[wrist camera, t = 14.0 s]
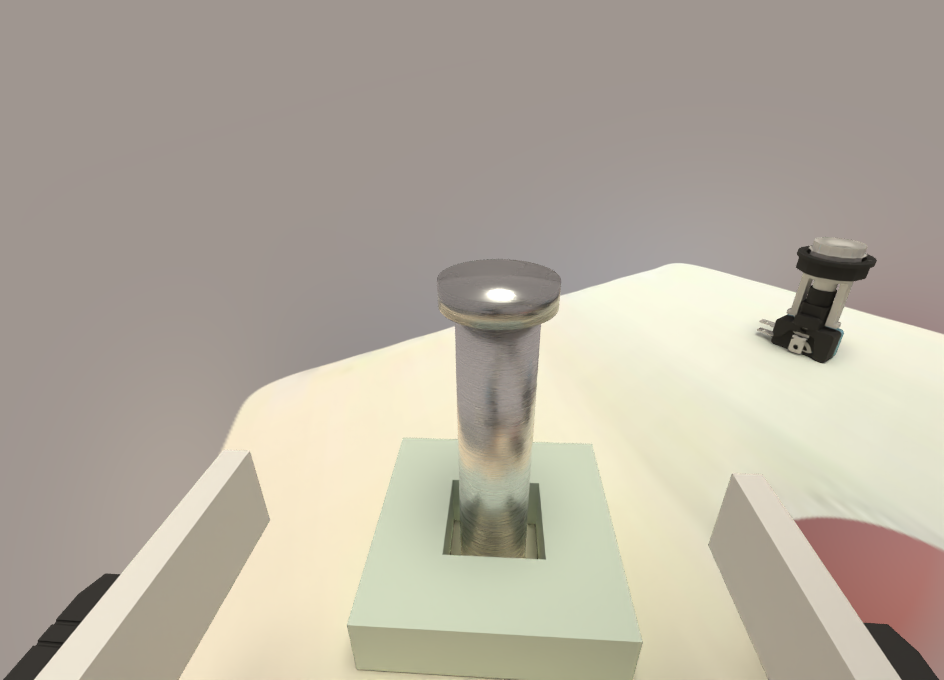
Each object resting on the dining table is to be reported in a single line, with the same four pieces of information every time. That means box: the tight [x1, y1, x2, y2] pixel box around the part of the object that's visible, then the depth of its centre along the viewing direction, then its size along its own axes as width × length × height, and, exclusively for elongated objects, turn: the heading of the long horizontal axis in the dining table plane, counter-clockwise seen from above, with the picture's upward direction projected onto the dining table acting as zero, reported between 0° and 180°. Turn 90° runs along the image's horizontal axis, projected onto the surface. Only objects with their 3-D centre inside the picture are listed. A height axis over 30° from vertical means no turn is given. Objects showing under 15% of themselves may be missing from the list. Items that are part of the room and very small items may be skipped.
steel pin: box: [437, 259, 561, 559], centre depth 20 cm, size 4×4×15 cm
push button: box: [757, 237, 877, 363], centre depth 41 cm, size 7×5×10 cm
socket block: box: [347, 438, 643, 680], centre depth 23 cm, size 11×11×3 cm
